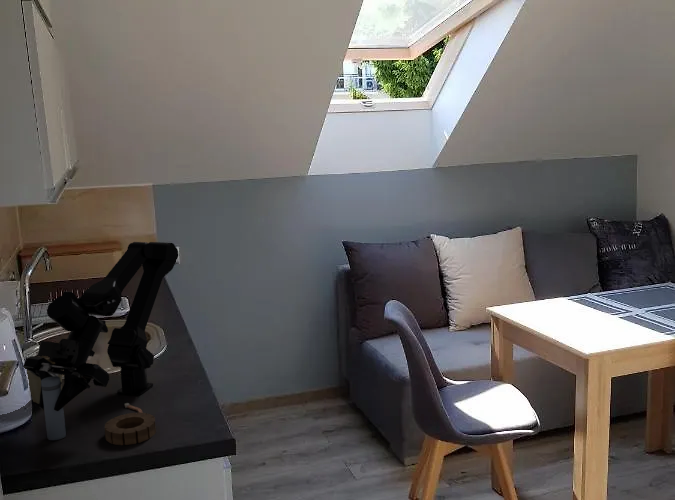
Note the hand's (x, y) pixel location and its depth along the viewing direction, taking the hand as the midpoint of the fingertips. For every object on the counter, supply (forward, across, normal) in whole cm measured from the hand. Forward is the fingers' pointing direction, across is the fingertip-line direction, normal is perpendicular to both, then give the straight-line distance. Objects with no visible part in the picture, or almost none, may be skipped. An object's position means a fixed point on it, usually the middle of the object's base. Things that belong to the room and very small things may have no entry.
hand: (48, 409), depth 141 cm
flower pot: (-7, -17, +16) cm, 25 cm away
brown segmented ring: (0, +14, +10) cm, 17 cm away
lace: (-6, +9, +16) cm, 19 cm away
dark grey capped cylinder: (+4, 0, +6) cm, 7 cm away
